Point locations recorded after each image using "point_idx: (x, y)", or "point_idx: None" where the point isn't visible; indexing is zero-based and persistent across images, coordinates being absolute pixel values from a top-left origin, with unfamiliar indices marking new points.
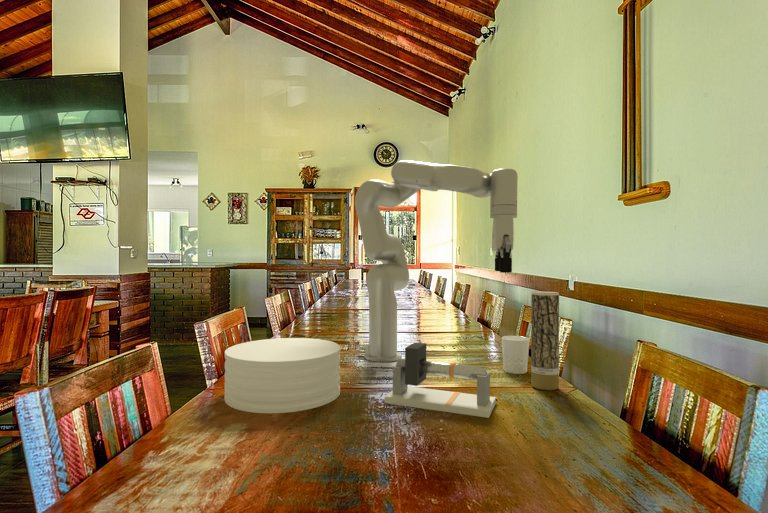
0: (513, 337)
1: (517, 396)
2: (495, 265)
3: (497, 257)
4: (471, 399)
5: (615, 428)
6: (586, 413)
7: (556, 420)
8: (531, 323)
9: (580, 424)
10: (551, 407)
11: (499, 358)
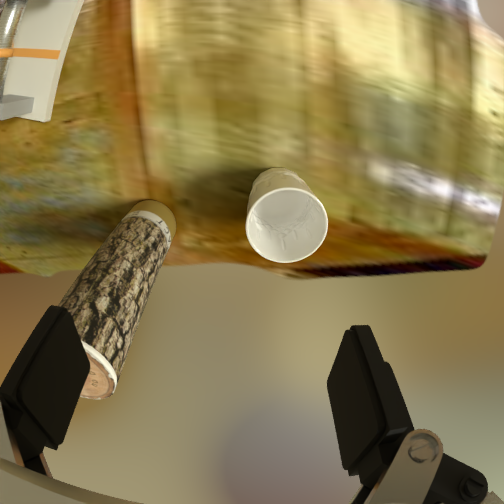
0: (322, 228)
1: (90, 160)
2: (364, 363)
3: (407, 443)
4: (29, 82)
5: (16, 257)
6: (46, 245)
7: (14, 199)
8: (106, 269)
9: (12, 224)
10: (53, 205)
11: (400, 189)
